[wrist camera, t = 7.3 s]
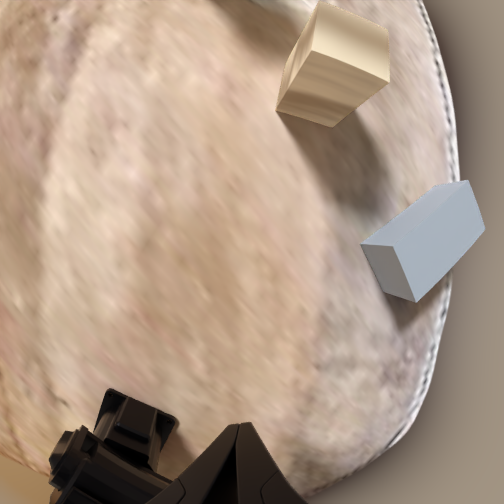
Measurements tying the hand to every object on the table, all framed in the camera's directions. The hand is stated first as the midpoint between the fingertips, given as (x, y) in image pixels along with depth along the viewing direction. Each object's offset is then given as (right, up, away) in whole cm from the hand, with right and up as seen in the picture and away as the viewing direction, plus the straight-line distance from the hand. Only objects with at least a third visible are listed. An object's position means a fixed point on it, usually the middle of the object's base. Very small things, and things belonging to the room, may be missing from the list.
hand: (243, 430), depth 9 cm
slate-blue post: (+11, +5, +12) cm, 17 cm away
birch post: (+5, +20, +13) cm, 24 cm away
